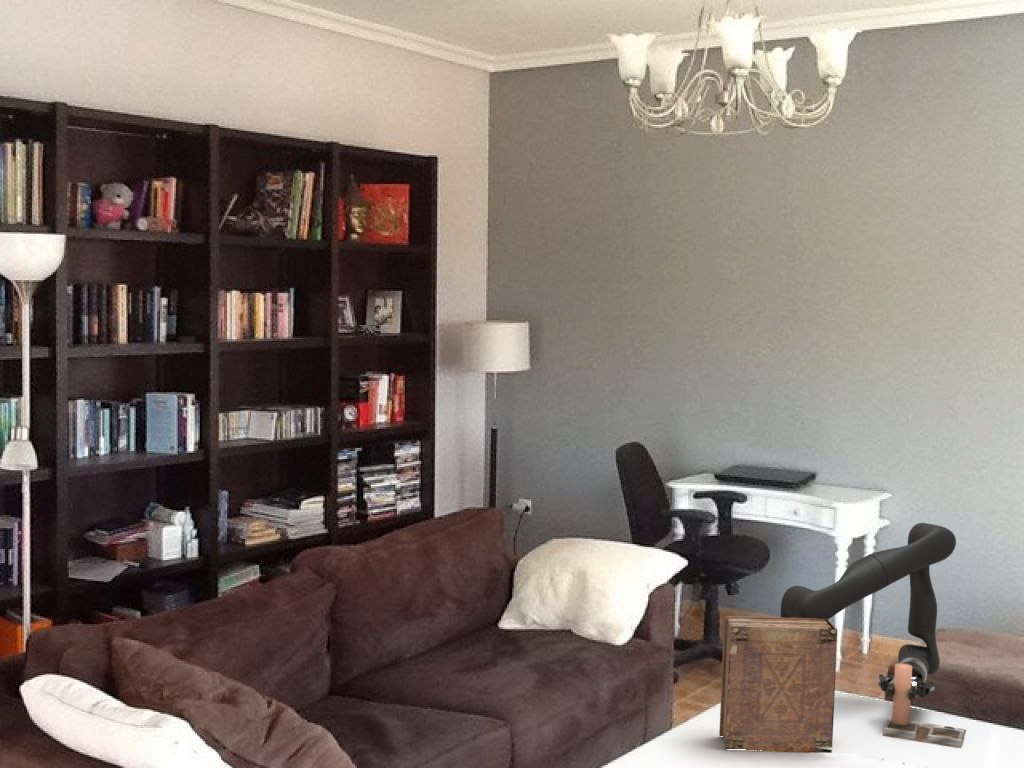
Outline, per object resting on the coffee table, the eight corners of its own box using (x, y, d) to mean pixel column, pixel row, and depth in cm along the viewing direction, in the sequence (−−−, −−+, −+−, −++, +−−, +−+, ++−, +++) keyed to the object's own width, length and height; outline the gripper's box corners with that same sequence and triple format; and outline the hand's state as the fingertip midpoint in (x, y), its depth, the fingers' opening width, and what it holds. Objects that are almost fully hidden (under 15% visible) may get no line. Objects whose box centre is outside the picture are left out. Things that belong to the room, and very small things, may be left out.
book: (724, 750, 300) (729, 626, 298) (719, 736, 310) (723, 615, 307) (832, 753, 300) (837, 628, 298) (823, 739, 309) (828, 618, 307)
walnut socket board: (882, 741, 308) (882, 729, 308) (890, 724, 321) (891, 712, 321) (960, 754, 301) (960, 741, 301) (966, 735, 314) (966, 723, 313)
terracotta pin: (890, 723, 309) (893, 666, 308) (893, 718, 313) (896, 662, 312) (907, 725, 308) (911, 669, 307) (910, 720, 311) (913, 665, 310)
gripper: (882, 656, 325) (871, 674, 310) (940, 665, 320) (932, 683, 304) (880, 685, 326) (869, 704, 311) (938, 694, 320) (930, 714, 305)
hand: (900, 694), depth 307 cm, fingers closed on terracotta pin, 4 cm apart
